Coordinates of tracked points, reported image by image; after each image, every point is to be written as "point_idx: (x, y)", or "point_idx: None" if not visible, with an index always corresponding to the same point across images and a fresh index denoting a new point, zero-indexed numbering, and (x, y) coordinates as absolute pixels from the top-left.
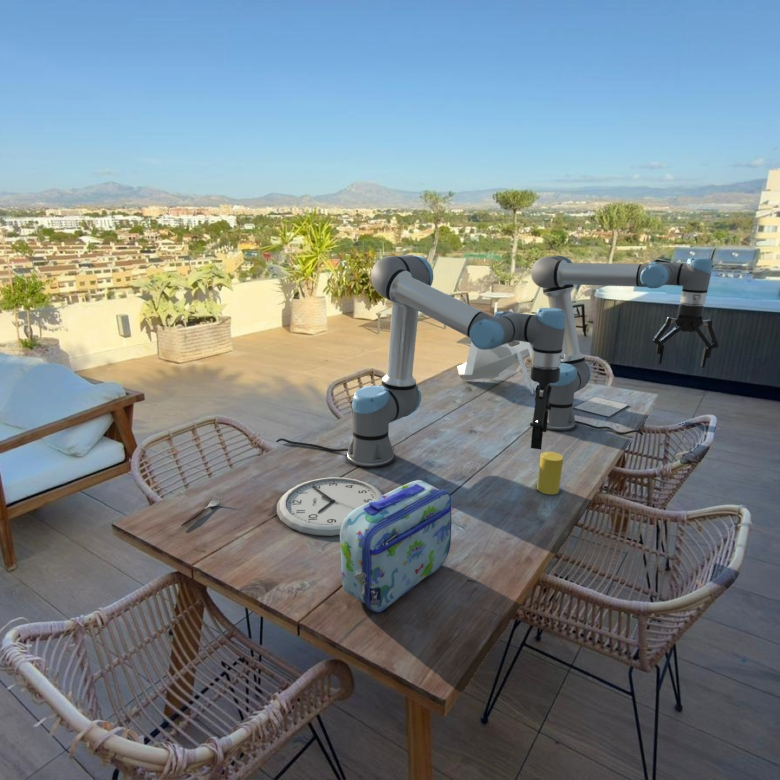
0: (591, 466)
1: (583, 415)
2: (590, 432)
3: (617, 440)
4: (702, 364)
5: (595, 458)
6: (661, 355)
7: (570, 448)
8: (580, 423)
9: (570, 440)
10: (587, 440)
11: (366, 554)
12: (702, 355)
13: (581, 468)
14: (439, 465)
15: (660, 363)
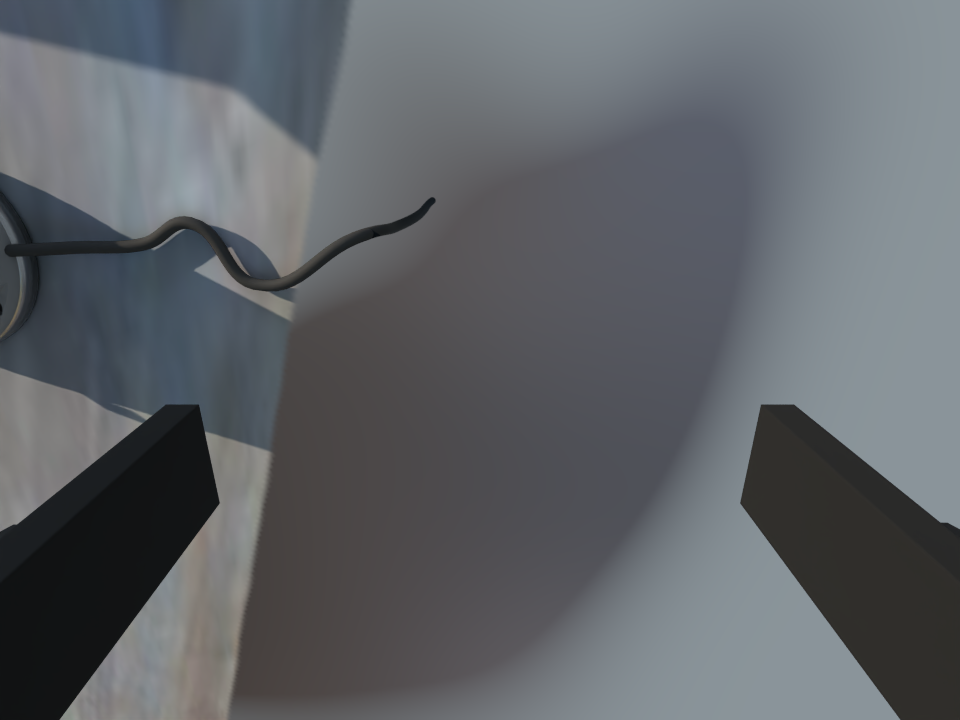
0: (199, 617)
1: (18, 4)
2: (127, 301)
3: (258, 360)
4: (760, 527)
5: (200, 559)
6: (129, 597)
7: None
8: (45, 254)
9: (73, 430)
10: (137, 406)
11: None
12: (868, 512)
13: (173, 638)
14: None
15: (207, 506)
